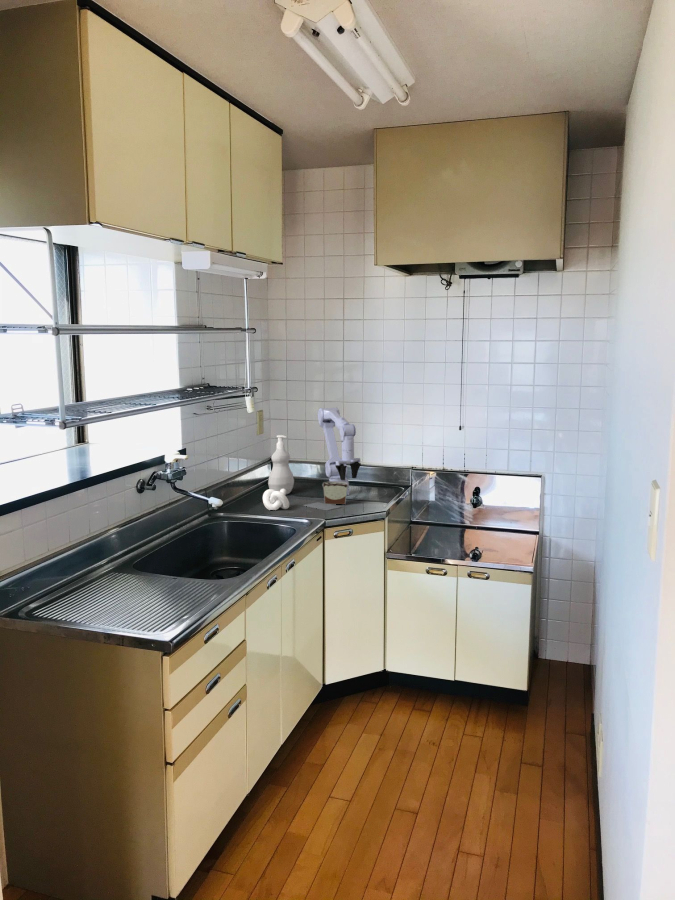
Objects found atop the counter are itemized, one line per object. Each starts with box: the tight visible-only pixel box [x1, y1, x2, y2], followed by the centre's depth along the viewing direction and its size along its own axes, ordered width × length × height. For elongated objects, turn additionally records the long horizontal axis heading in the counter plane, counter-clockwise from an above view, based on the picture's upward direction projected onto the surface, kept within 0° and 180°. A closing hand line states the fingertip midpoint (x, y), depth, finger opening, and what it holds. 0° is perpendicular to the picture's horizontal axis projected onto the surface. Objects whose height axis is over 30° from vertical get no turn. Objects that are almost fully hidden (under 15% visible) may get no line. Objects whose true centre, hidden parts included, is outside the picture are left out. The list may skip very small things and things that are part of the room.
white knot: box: [262, 489, 290, 511], centre depth 322 cm, size 11×12×9 cm
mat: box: [302, 501, 341, 512], centre depth 325 cm, size 9×16×1 cm, turn 46°
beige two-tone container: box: [321, 480, 350, 506], centre depth 331 cm, size 12×6×10 cm, turn 84°
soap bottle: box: [267, 434, 295, 495], centre depth 356 cm, size 17×12×29 cm
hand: (348, 479), depth 336 cm, fingers open, 7 cm apart
